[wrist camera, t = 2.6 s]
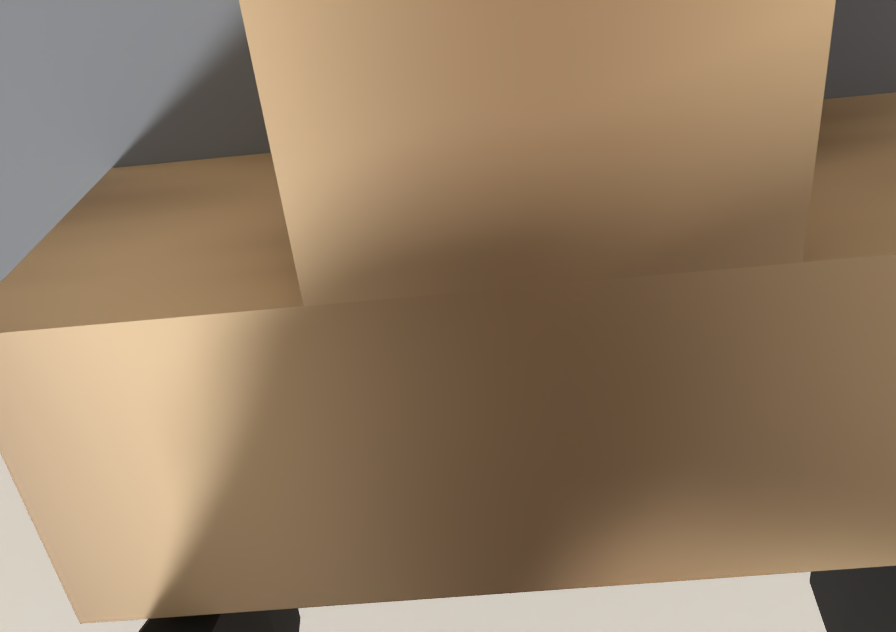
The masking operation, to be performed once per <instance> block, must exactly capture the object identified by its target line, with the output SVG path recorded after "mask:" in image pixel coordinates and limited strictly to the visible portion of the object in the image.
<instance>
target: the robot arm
mask: <svg viewBox="0 0 896 632" xmlns="http://www.w3.org/2000/svg"><path fill="white" fill-rule="evenodd" d="M810 584H811V587H812V590H813V593H814V596H815V599H816V602H817V605H818V607H819V610H820V613H821V616H822V619H823V622H824V625H825V628H826V630H827V632H896V566H882V567H868V568H854V569H840V570H826V571H812V572H811V575H810ZM299 626H300V615H299V611H298V608H292V609H278V610H264V611H250V612H236V613H222V614H208V615H194V616H179V617H165V618H151V619H148V620H147V621H146V623H145V624H144V625H143V626H142V628H141V629H140V630H139V632H299Z"/></svg>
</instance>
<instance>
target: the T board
mask: <svg viewBox="0 0 896 632" xmlns="http://www.w3.org/2000/svg"><path fill="white" fill-rule="evenodd" d="M894 92H896V0H836V3H835V11H834V18H833V26H832V34H831V42H830V50H829V58H828V66H827V74H826V82H825V90H824V98H823V99H832V98H842V97H853V96H863V95H873V94H884V93H894ZM263 153H271V150H270V145H269V140H268V135H267V131H266V126H265V121H264V117H263V112H262V107H261V102H260V98H259V93H258V88H257V83H256V79H255V74H254V69H253V65H252V60H251V55H250V50H249V46H248V41H247V36H246V32H245V27H244V22H243V17H242V13H241V8H240V3H239V0H0V282H1V281H2V280H3V279H4V278H5V277H6V276H7V275H8V274H9V273H10V272H11V271H12V270H13V269H14V268H15V267H16V266H17V265H18V264H19V263H20V262H21V261H22V260H23V258H24V257H25V256H26V255H27V254H28V253H29V252H30V251H31V250H32V249H33V248H34V247H35V246H36V245H37V244H38V243H39V242H40V241H41V240H42V239H43V238H44V237H45V236H46V235H47V234H48V233H49V232H50V231H51V230H52V229H53V228H54V227H55V226H56V224H57V223H58V222H59V221H60V220H61V219H62V218H63V217H64V216H65V215H66V214H67V213H68V212H69V211H70V210H71V209H72V208H73V207H74V206H75V205H76V204H77V203H78V202H79V201H80V200H81V199H82V198H83V197H84V196H85V195H86V194H87V193H88V192H89V191H90V189H91V188H92V187H93V186H94V185H95V184H96V183H97V182H98V181H99V180H100V179H101V178H102V177H103V176H104V175H105V174H106V173H107V172H108V171H109V170H110V169H111V168H118V167H128V166H138V165H149V164H159V163H170V162H180V161H190V160H201V159H211V158H221V157H232V156H242V155H252V154H263Z"/></svg>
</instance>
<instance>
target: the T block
mask: <svg viewBox="0 0 896 632" xmlns="http://www.w3.org/2000/svg"><path fill="white" fill-rule="evenodd" d="M239 3H240V8H241V13H242V17H243V22H244V27H245V32H246V36H247V41H248V46H249V50H250V55H251V60H252V65H253V69H254V74H255V79H256V83H257V88H258V93H259V98H260V102H261V107H262V112H263V117H264V121H265V126H266V131H267V135H268V140H269V145H270V150H271V153H263V154H252V155H242V156H232V157H221V158H211V159H201V160H190V161H180V162H170V163H159V164H149V165H138V166H128V167H118V168H111V169H110V170H109V171H108V172H107V173H106V174H105V175H104V176H103V177H102V178H101V179H100V180H99V181H98V182H97V183H96V184H95V185H94V186H93V187H92V188H91V189H90V191H89V192H88V193H87V194H86V195H85V196H84V197H83V198H82V199H81V200H80V201H79V202H78V203H77V204H76V205H75V206H74V207H73V208H72V209H71V210H70V211H69V212H68V213H67V214H66V215H65V216H64V217H63V218H62V219H61V220H60V221H59V222H58V223H57V224H56V226H55V227H54V228H53V229H52V230H51V231H50V232H49V233H48V234H47V235H46V236H45V237H44V238H43V239H42V240H41V241H40V242H39V243H38V244H37V245H36V246H35V247H34V248H33V249H32V250H31V251H30V252H29V253H28V254H27V255H26V256H25V257H24V258H23V260H22V261H21V262H20V263H19V264H18V265H17V266H16V267H15V268H14V269H13V270H12V271H11V272H10V273H9V274H8V275H7V276H6V277H5V278H4V279H3V280H2V281H1V282H0V453H1V455H2V457H3V460H4V462H5V464H6V466H7V468H8V470H9V472H10V475H11V477H12V479H13V481H14V483H15V485H16V487H17V490H18V492H19V494H20V496H21V498H22V500H23V502H24V505H25V507H26V509H27V511H28V513H29V515H30V517H31V520H32V522H33V524H34V526H35V528H36V530H37V532H38V535H39V537H40V539H41V541H42V543H43V545H44V547H45V550H46V552H47V554H48V556H49V558H50V560H51V562H52V565H53V567H54V569H55V571H56V573H57V575H58V578H59V580H60V582H61V584H62V586H63V588H64V590H65V593H66V595H67V597H68V599H69V601H70V603H71V605H72V608H73V610H74V612H75V614H76V616H77V618H78V620H79V623H80V624H81V623H95V622H109V621H123V620H137V619H151V618H165V617H179V616H194V615H208V614H222V613H236V612H250V611H264V610H278V609H292V608H306V607H320V606H334V605H348V604H362V603H376V602H390V601H404V600H418V599H433V598H447V597H461V596H475V595H489V594H503V593H517V592H531V591H545V590H559V589H573V588H587V587H601V586H615V585H629V584H643V583H658V582H672V581H686V580H700V579H714V578H728V577H742V576H756V575H770V574H784V573H798V572H812V571H826V570H840V569H854V568H868V567H882V566H896V92H894V93H884V94H873V95H863V96H853V97H842V98H832V99H823V98H824V90H825V82H826V74H827V66H828V58H829V50H830V42H831V34H832V26H833V18H834V11H835V3H836V0H239Z"/></svg>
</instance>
